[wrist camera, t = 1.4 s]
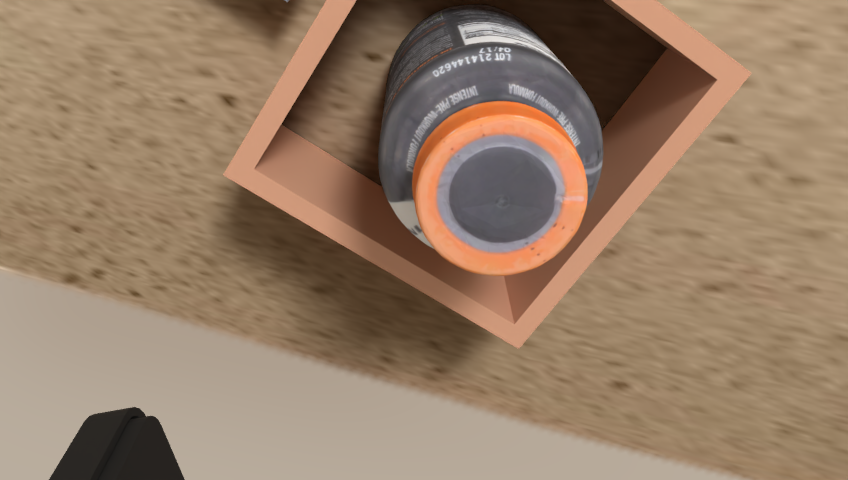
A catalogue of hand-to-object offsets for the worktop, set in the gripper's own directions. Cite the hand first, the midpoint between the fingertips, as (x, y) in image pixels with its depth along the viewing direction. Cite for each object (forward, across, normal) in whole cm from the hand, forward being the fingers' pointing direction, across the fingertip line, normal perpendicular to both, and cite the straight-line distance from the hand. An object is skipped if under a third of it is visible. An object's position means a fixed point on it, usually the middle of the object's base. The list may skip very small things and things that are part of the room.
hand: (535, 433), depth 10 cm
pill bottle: (+20, -1, 0) cm, 20 cm away
